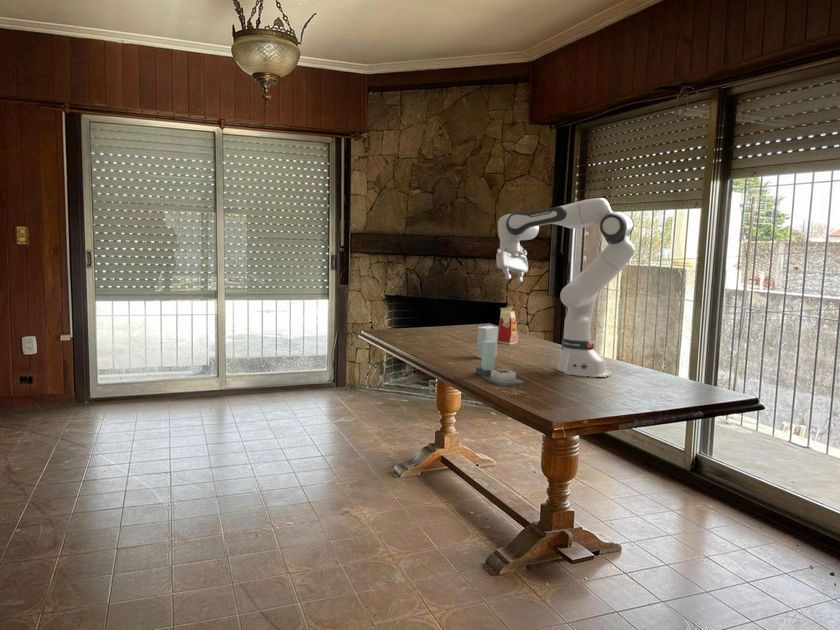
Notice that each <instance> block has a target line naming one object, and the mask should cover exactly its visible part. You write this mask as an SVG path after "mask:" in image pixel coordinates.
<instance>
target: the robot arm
mask: <svg viewBox="0 0 840 630" xmlns="http://www.w3.org/2000/svg"><path fill="white" fill-rule="evenodd" d="M545 225H557V226H562V227H563V228H564V227H565V228H567V229H581V228H586V227H591V226H596V225H598V226H599V230H600V233H601V234H602V236H603V237H604V239H605V241H606V243H608V244H607V245H606V247H605V248H604V249H602V251H601V252H600V253H599V254H598V255H597V256H596V257H595V259H593V261H592V262H591V263H590V264H589V265H588V266H587V267H586V268H584V269H583V270H582V271H581V272H580V273H578V274H577V275H576V276H575V277H574V278H573V279H571V281H570V282H568V283H567V284H566V285H565V286H564V287H563V288H562V290H561V291H560V294H559V295H560V296H559V298H560V301H561V303H562V304H563V305H564V306H565V307H567V308H568V311H567V314H566V316H565V318H564V325H563V327H564V328H563V337H562V339H561V356H560V357H561V358H560V360H559V364H558V366H557V371H559V372H561V373H563V374H565V375H570V376H571V375H572V376H578V377H579V376H580V377H587V376H589V377H590V378H596V377H605V378H608V377H611V375H612V371H611V370H609V369H607V363H606V359H605V358H604V357H603V356H602V355H601V354H600V353H599V352H597V351H596V350H595V349H594V347H595V346H594V345H595V344H596V342H595V341H592V340H591V338H590V337H591V326H592V325H591V324H592V320H593V319H592V318H593V314H594V310H595V305H596V300H597V298H598V294H599V292H600V291H601V290H603V288H605V287H606V286H607V285H608V284H610V283H611V282H612V280H613V279H614V278H616V277H617V276H618V274H619V273H620V272H621V271H622V270H624V268H625V267H626V266H627V264H629V261H630V260H631V259H632V258H633V256H634V254H635V250H636V248H635V246H634V244H633V243H632V242H631V240H629V236H630V235H631V234H632V232H633V231H634V226H635V223H634V219H633V218H632V217H631V216H630V215H629V214H627V213H625V212H621V211H617V210H612V208H611V206H610V203H609V202H608V200H607V199H606V198H603V197H595V198H587V199H584V200H579V201H575V202H571V203H567V204H565V205H560V206H555V207H551V208H545V209H544V208H543V209H539V210H533V211H528V212H524V211H520V210H519V211H513V212H512V213H508V214H507V213H506V214H504V215H503V216H500V218H499V219H498V222H497V234H498V238H499V247H498V248H497V250H496V252H497V253H496V259H495V260H496V266H497V268H498V269H499V270H500V269H501V270H502V272H503V274H504V276H505V280H511V279H512V275H511V274H510V272H513V273H517V275H518V277H517V278H516V280H517V282H518V283H523V280H524V279H523V276H524V274H526V273H528V272H529V264H528V258H527V255H528V252H527V250H526V249H524V248H523V246H522V245H521V243H520V241H528V240H533V239H535V238H536V237H537V236H538V234H539V231H540V227H541V226H545ZM509 271H510V272H509ZM607 376H608V377H607Z"/></svg>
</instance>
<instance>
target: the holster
mask: <svg viewBox="0 0 840 630" xmlns="http://www.w3.org/2000/svg"><path fill="white" fill-rule="evenodd" d="M494 370H499V369H498V368H496V367H495V369H494ZM475 374H477V375H479V376H481V377H482V376H486V375H491V370H486V371H485V370H483V369H481V366H480V367H479V366H478V367H476V368H475Z"/></svg>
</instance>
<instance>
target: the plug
mask: <svg viewBox="0 0 840 630" xmlns="http://www.w3.org/2000/svg"><path fill="white" fill-rule="evenodd" d="M495 348H496V342H494V341H482V359H481V364H480V365H481V366H480V367H481V369H483V370H485V371H486V370H494V369H495V368H496V366H495V365H496V357H495Z"/></svg>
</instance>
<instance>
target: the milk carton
mask: <svg viewBox="0 0 840 630" xmlns="http://www.w3.org/2000/svg"><path fill="white" fill-rule="evenodd" d="M513 307H514V306H513V305H512V306H508V307H500V308H499V309H500V314H499V315H500V316H499V324H498V335H497V344H504V345H514V344H517V343H518V342H519V341H518V340H519V339H518V327H517V320H516V313H515V310H514V309H513Z"/></svg>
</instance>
